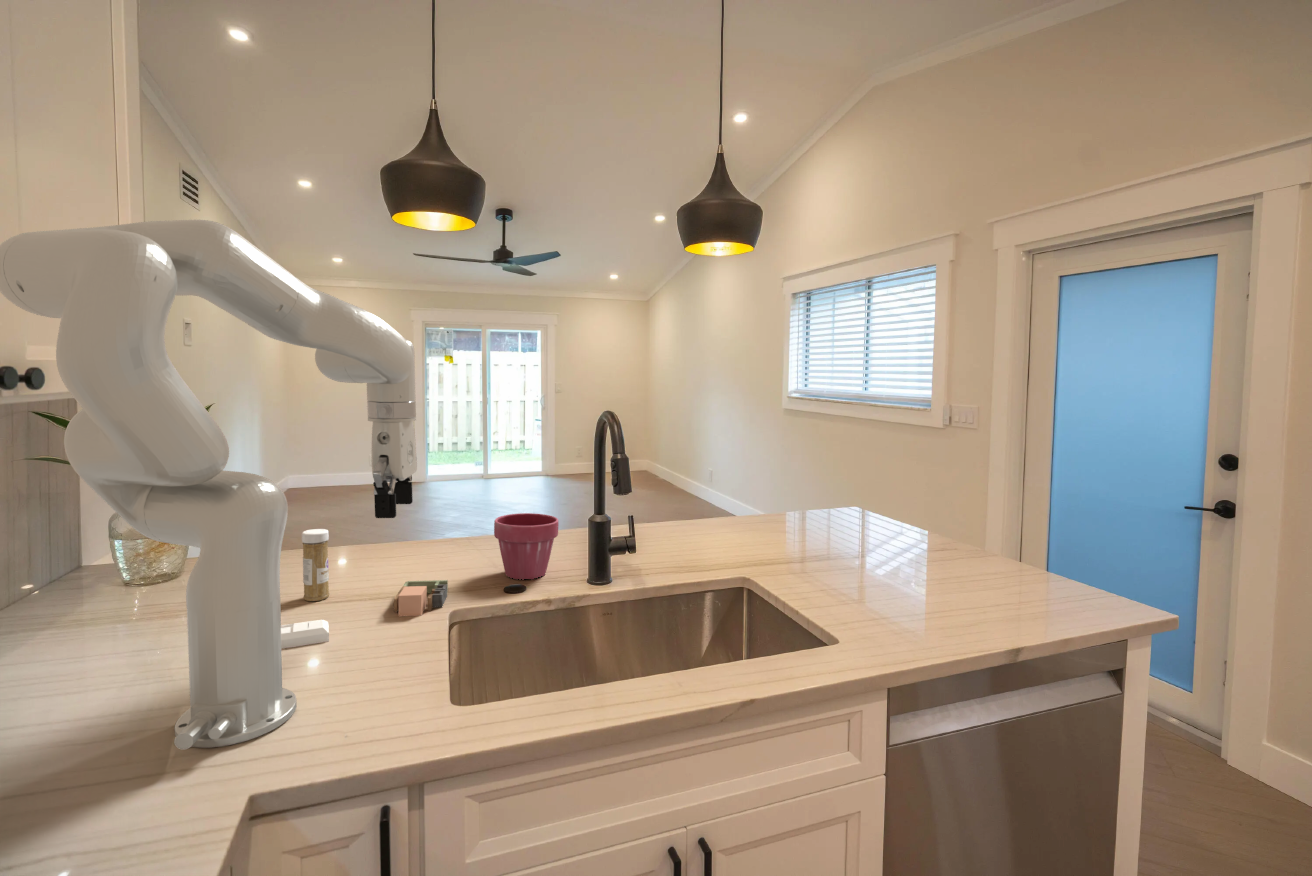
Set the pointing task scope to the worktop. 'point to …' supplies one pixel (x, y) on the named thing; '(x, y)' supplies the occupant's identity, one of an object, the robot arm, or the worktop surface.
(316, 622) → the white flat block
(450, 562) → the worktop surface
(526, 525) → the plant pot
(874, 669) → the worktop surface
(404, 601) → the block
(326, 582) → the sprinkles bottle
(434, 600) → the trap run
